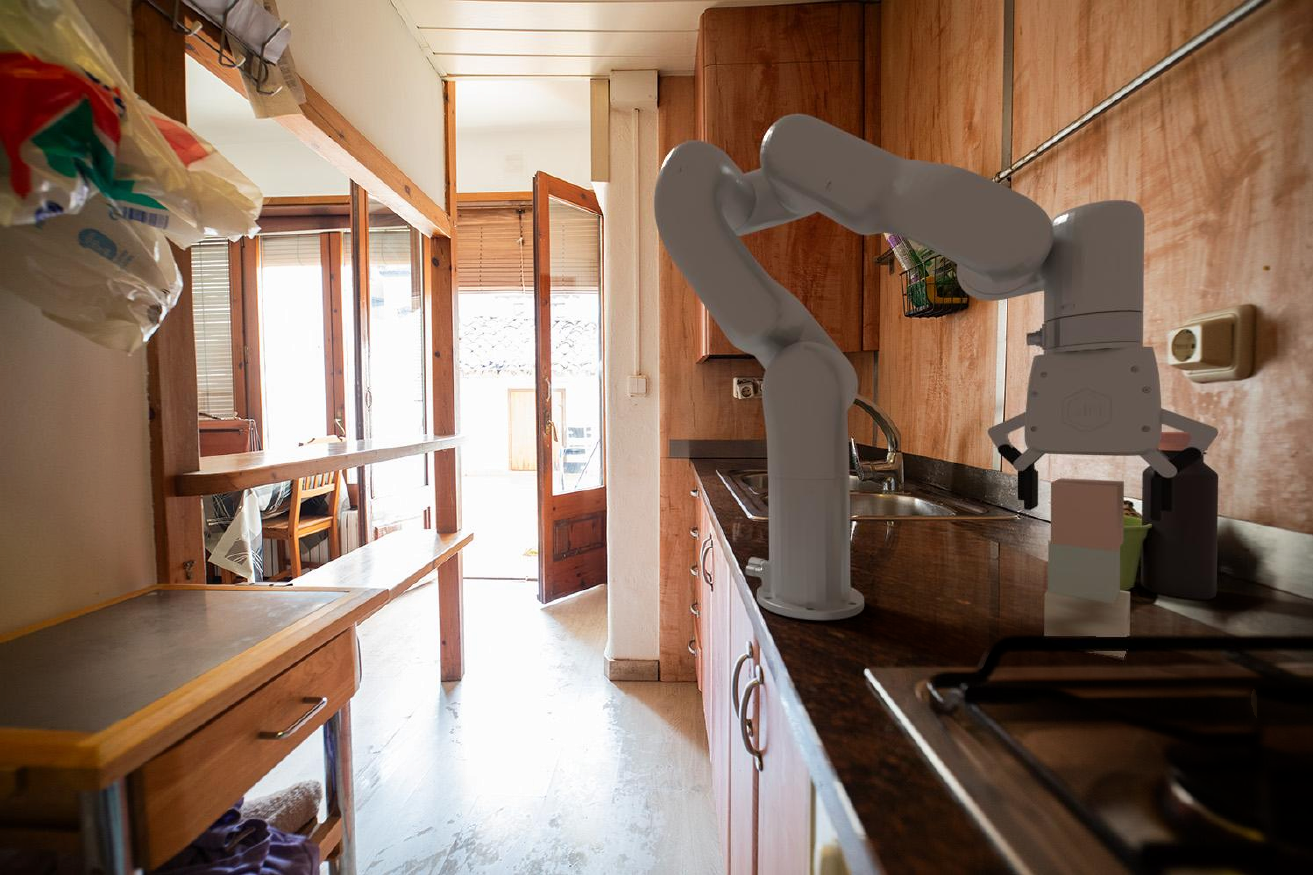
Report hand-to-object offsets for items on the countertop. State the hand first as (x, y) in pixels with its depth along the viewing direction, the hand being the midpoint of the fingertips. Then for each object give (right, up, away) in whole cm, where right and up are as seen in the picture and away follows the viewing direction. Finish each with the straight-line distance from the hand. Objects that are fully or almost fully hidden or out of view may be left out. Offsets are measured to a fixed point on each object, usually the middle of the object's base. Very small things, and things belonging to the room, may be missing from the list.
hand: (1089, 513), depth 53 cm
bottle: (+23, -12, +15) cm, 30 cm away
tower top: (0, -8, +1) cm, 8 cm away
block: (0, -3, 0) cm, 3 cm away
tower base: (0, -13, +1) cm, 13 cm away
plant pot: (+16, -12, +18) cm, 27 cm away
